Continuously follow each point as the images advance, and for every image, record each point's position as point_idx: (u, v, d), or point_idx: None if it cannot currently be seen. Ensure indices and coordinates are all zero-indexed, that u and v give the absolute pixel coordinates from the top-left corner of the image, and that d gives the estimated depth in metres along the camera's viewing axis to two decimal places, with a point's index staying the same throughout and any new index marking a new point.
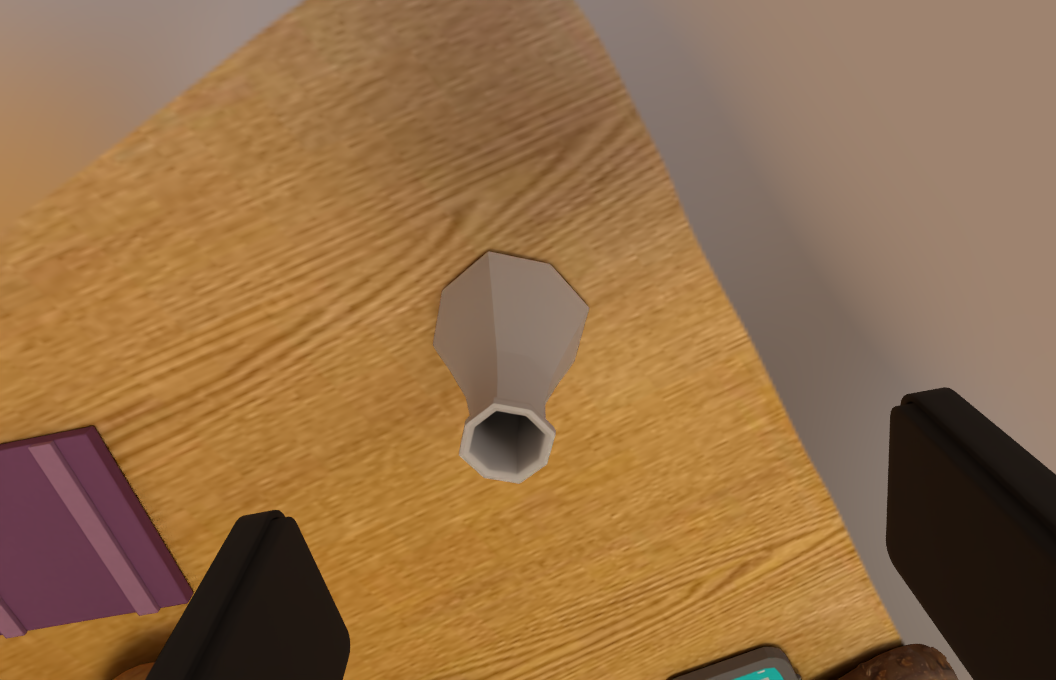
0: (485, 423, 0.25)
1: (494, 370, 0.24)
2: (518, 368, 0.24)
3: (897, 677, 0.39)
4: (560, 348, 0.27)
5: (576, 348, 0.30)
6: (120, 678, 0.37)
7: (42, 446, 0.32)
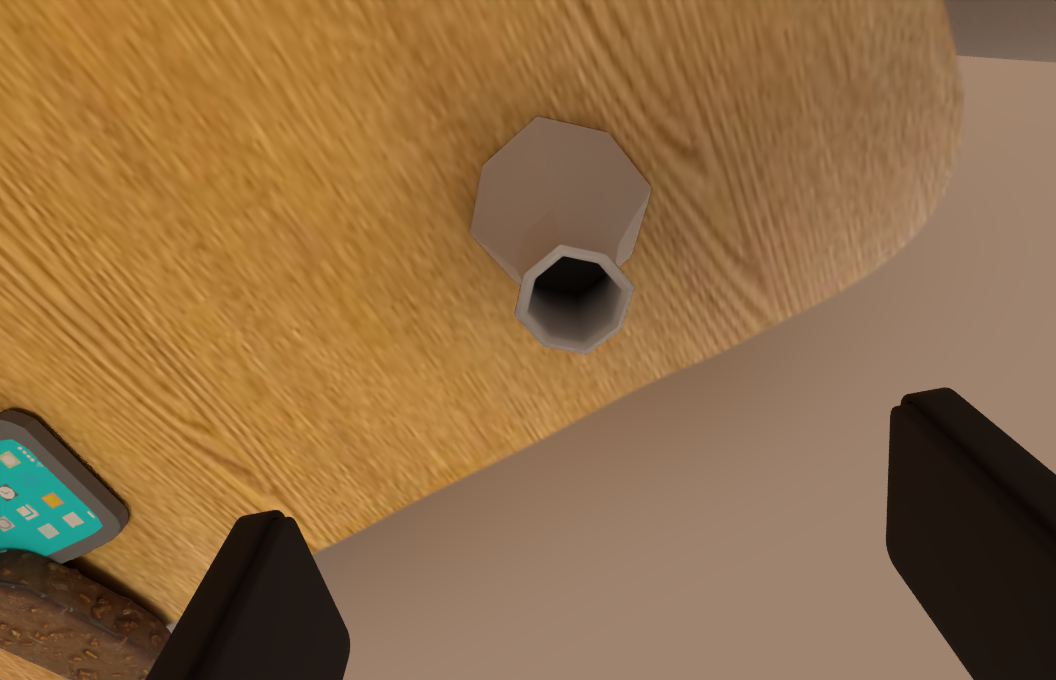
0: (535, 239, 0.20)
1: (613, 253, 0.20)
2: None
3: (136, 639, 0.35)
4: (581, 294, 0.24)
5: (537, 287, 0.27)
6: None
7: None
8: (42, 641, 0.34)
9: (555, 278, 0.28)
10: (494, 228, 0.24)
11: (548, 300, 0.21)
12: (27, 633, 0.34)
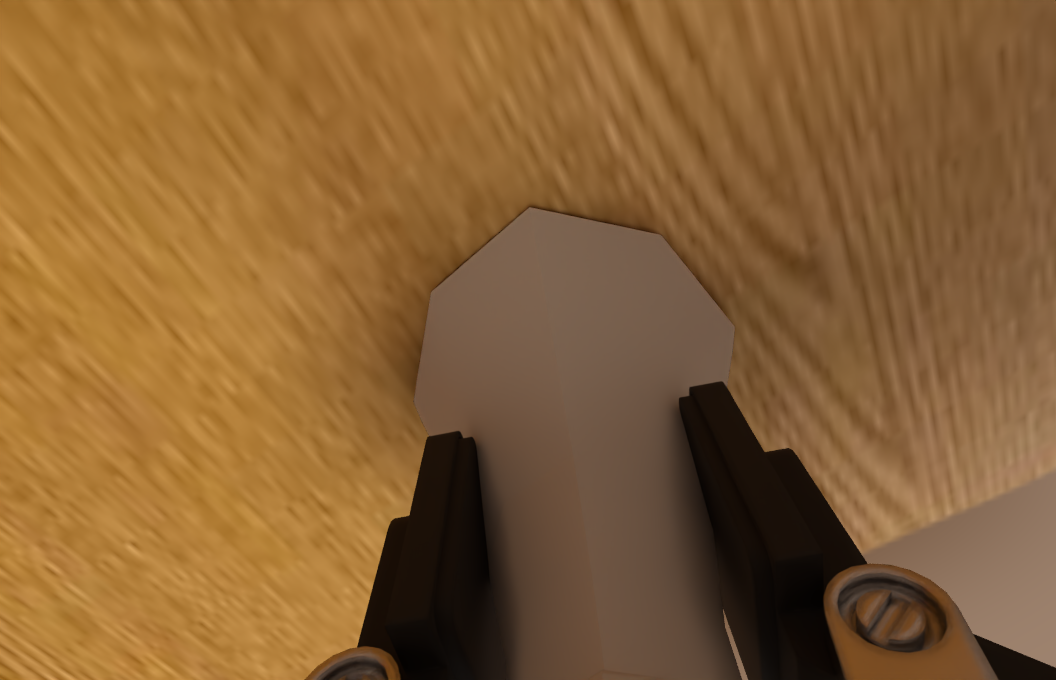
0: (530, 544, 0.09)
1: (713, 575, 0.09)
2: None
3: None
4: None
5: None
6: None
7: None
8: None
9: None
10: None
11: None
12: None
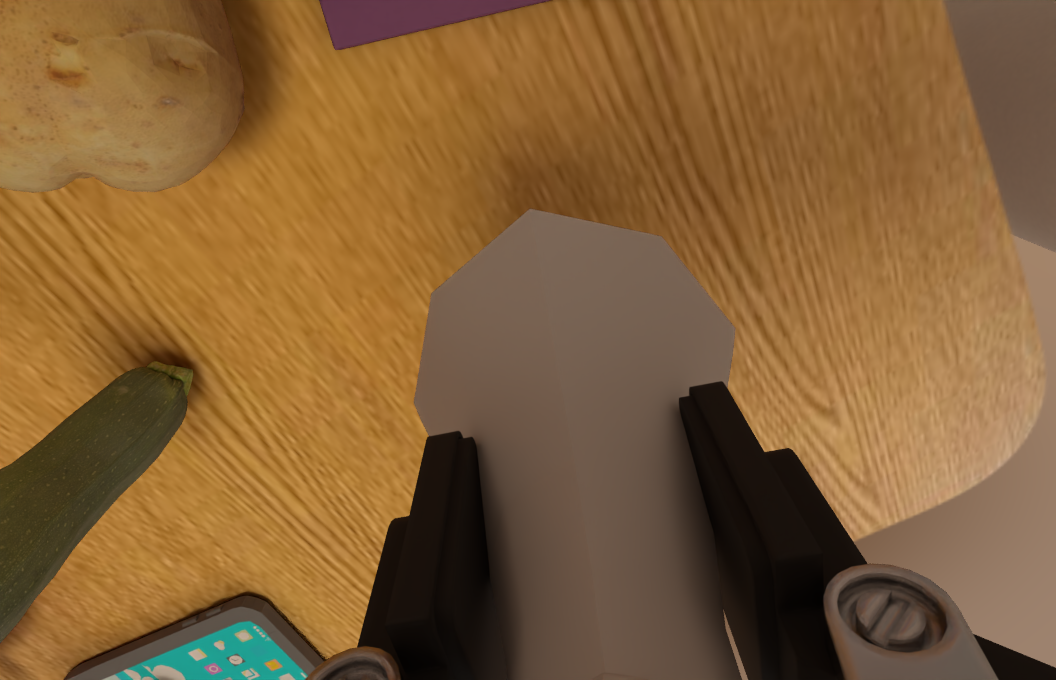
0: (531, 546, 0.09)
1: (713, 577, 0.09)
2: None
3: None
4: None
5: None
6: None
7: None
8: None
9: None
10: None
11: None
12: None
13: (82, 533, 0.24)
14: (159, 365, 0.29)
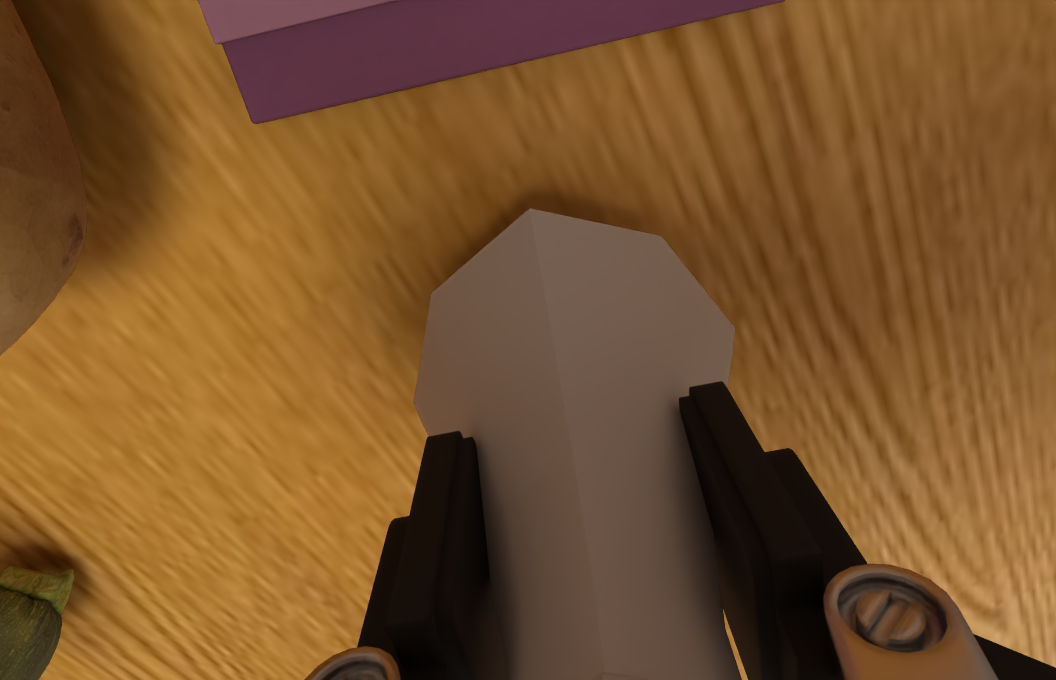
0: (530, 546, 0.09)
1: (713, 577, 0.09)
2: None
3: None
4: None
5: None
6: None
7: None
8: None
9: None
10: None
11: None
12: None
13: None
14: (14, 577, 0.20)
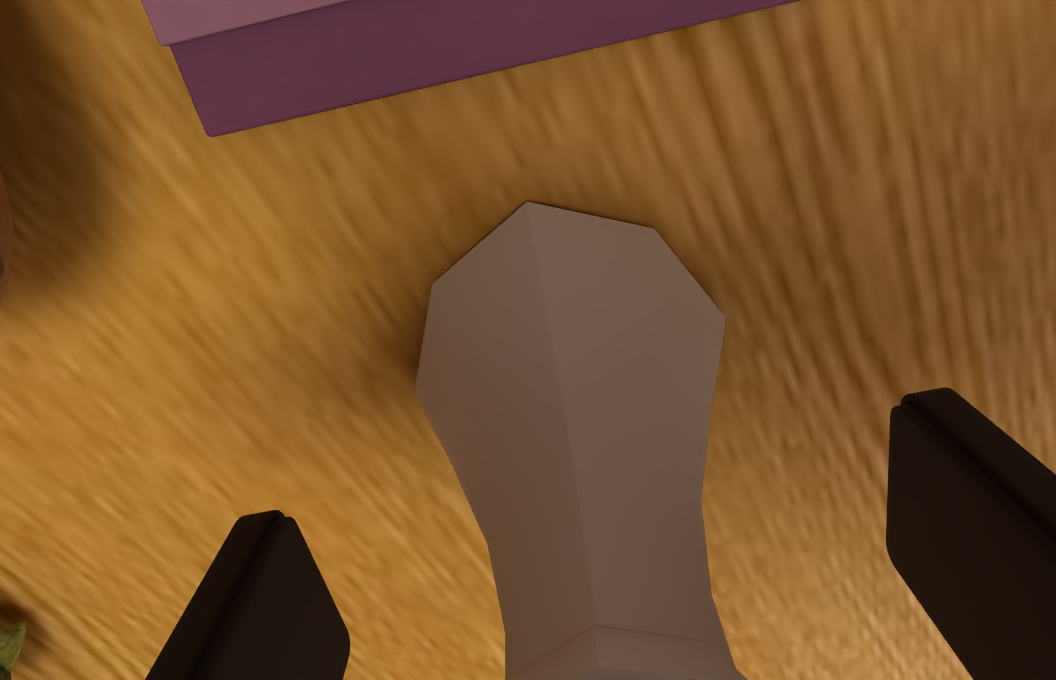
0: (528, 518, 0.09)
1: (700, 547, 0.09)
2: None
3: None
4: None
5: None
6: None
7: None
8: None
9: None
10: (450, 417, 0.13)
11: None
12: None
13: None
14: None
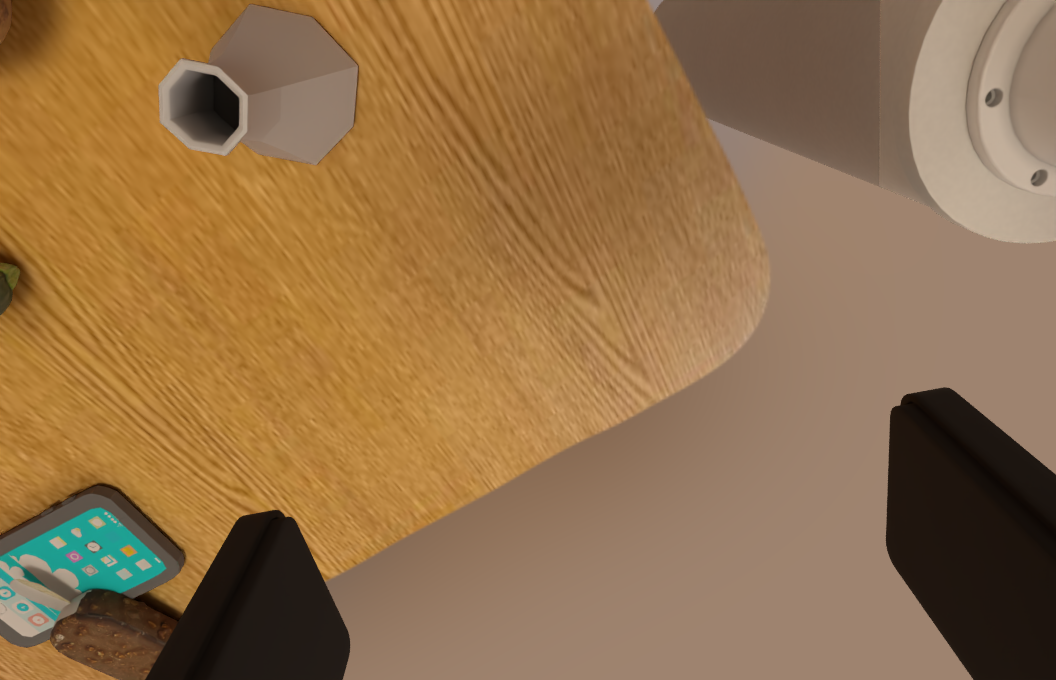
0: (202, 77, 0.25)
1: (265, 87, 0.25)
2: (270, 110, 0.26)
3: None
4: (284, 145, 0.29)
5: (274, 156, 0.33)
6: None
7: None
8: (120, 658, 0.44)
9: None
10: (209, 92, 0.29)
11: (228, 134, 0.26)
12: (108, 653, 0.44)
13: None
14: None
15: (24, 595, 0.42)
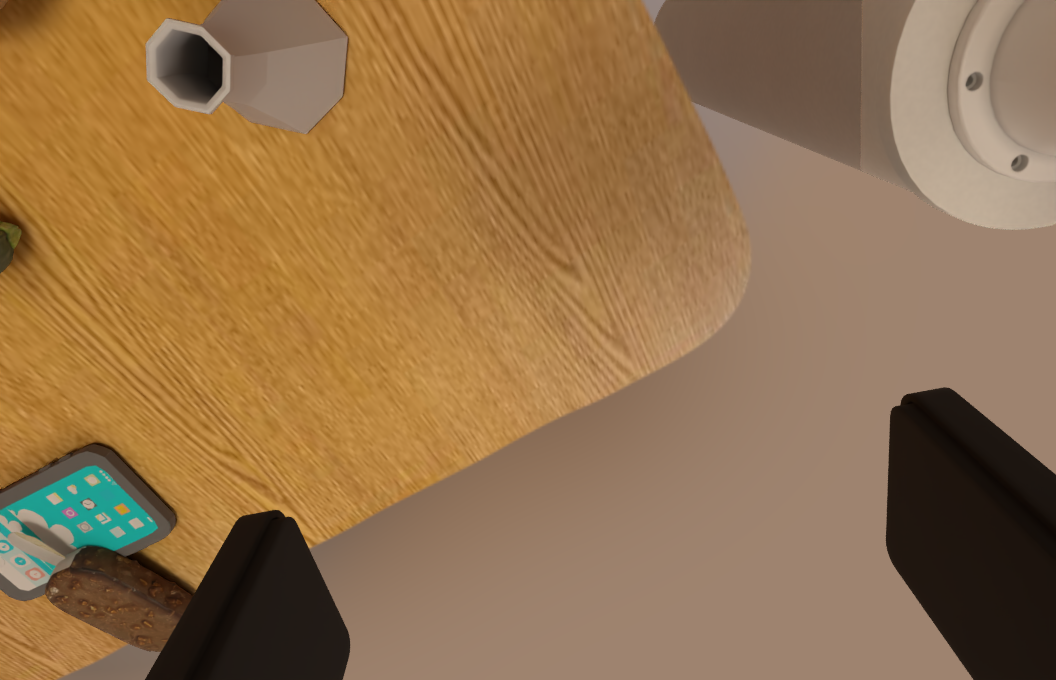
0: (191, 40, 0.26)
1: (250, 51, 0.26)
2: (256, 74, 0.27)
3: (181, 613, 0.47)
4: (272, 111, 0.30)
5: (265, 124, 0.34)
6: None
7: None
8: (112, 613, 0.46)
9: None
10: (201, 58, 0.30)
11: None
12: (101, 608, 0.45)
13: None
14: None
15: (21, 549, 0.44)
